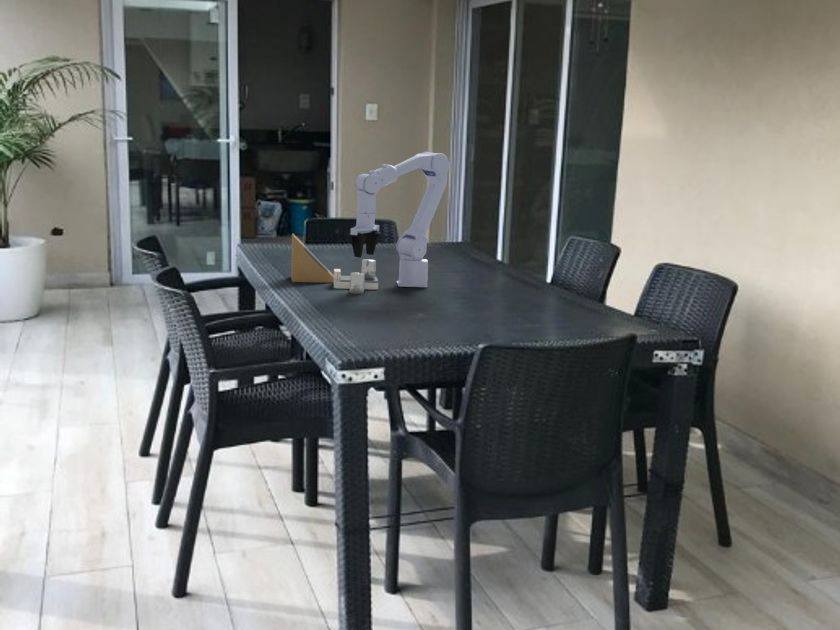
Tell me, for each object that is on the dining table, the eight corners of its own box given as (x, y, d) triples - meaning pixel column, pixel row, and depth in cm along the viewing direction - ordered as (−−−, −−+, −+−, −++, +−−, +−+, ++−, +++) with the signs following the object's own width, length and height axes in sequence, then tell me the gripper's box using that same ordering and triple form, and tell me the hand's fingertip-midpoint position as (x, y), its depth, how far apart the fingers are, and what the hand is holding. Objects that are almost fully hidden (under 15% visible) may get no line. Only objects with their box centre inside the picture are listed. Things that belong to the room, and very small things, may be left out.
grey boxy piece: (376, 284, 287) (376, 269, 286) (378, 289, 279) (378, 274, 277) (332, 282, 285) (332, 267, 284) (333, 288, 277) (333, 272, 276)
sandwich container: (339, 283, 287) (341, 237, 283) (292, 282, 283) (293, 236, 280) (336, 278, 295) (338, 234, 292) (290, 277, 292) (291, 232, 288)
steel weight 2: (368, 277, 285) (368, 258, 283) (377, 279, 282) (378, 260, 281) (358, 278, 281) (359, 259, 280) (368, 280, 279) (369, 261, 277)
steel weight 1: (363, 291, 275) (364, 272, 273) (364, 294, 271) (365, 275, 269) (349, 290, 274) (350, 272, 273) (350, 293, 270) (350, 274, 269)
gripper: (365, 215, 266) (363, 259, 269) (388, 212, 278) (386, 254, 281) (345, 213, 269) (343, 257, 272) (369, 210, 281) (367, 252, 284)
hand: (363, 255), depth 277 cm, fingers open, 7 cm apart
